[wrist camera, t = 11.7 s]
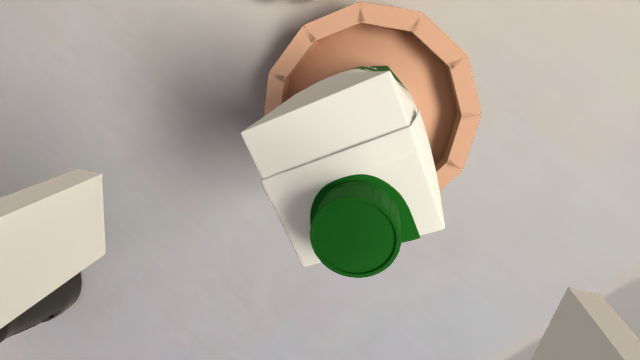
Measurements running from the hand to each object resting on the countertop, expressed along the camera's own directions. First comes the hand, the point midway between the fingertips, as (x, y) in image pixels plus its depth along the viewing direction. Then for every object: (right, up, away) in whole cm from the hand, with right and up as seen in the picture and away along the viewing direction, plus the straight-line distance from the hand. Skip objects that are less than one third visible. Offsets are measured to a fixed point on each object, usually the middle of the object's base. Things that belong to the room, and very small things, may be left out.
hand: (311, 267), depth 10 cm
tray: (+5, +9, +24) cm, 26 cm away
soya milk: (+5, +9, +24) cm, 26 cm away
